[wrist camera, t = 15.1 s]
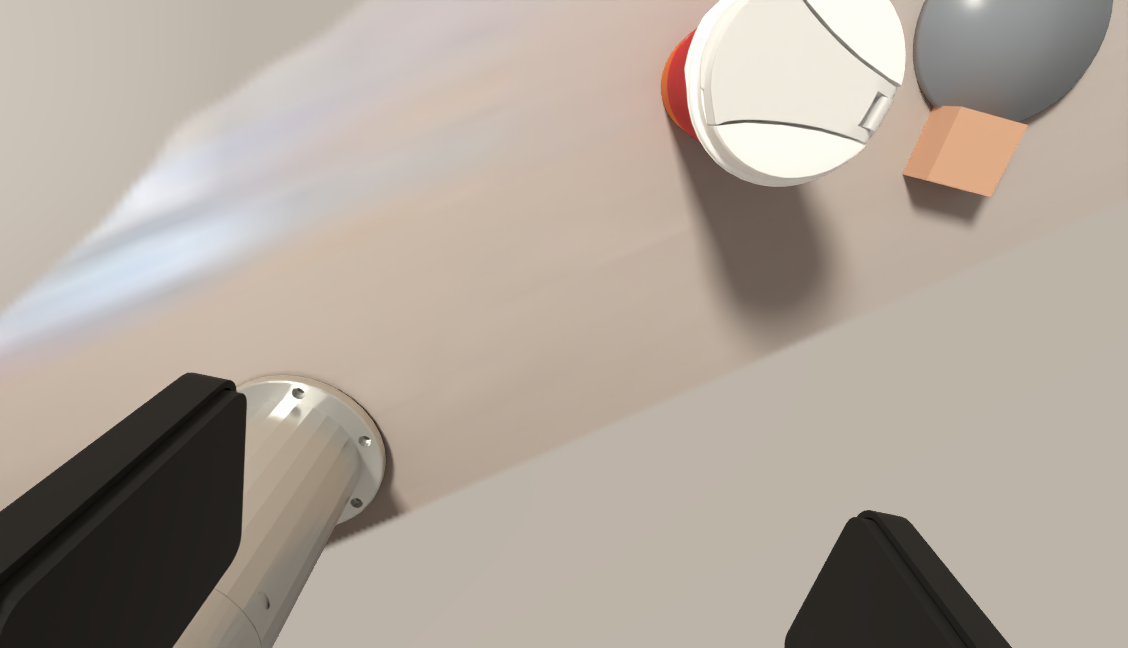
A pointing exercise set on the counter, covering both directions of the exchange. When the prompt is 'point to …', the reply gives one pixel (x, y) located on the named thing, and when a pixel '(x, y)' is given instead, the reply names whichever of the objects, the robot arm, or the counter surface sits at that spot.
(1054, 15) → the gray paddle
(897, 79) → the paper cup
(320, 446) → the robot arm
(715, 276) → the counter surface
